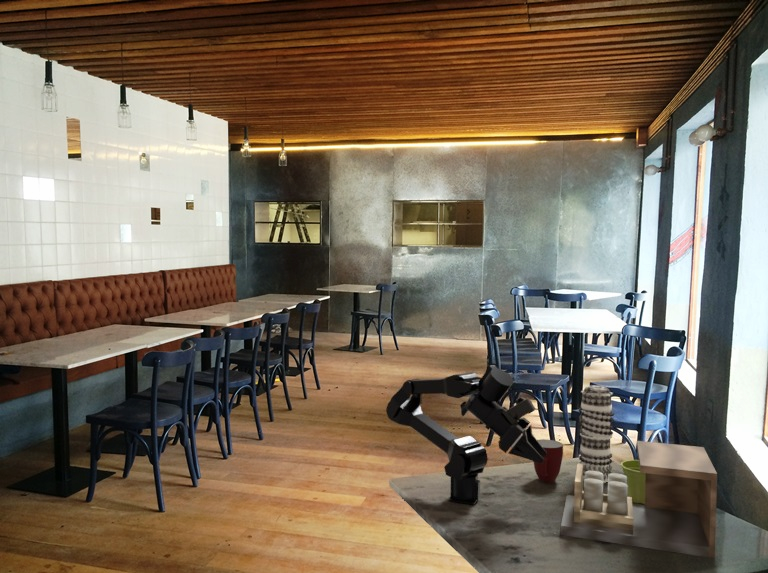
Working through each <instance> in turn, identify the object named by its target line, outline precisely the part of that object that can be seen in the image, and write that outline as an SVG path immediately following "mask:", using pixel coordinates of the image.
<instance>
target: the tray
mask: <svg viewBox="0 0 768 573" xmlns="http://www.w3.org/2000/svg"><path fill="white" fill-rule="evenodd" d="M576 465H577V466H576V472H575V477H574V495H573V496H574V522H577V523H584V524H591V525H598V526H605V527H612V528H619V529H626V530H633V508H632V504H633V502H632V497H627V487H628V486H627V477H626V476H625V475H624V474H621V473H614V472H612V473H611V474H608V483H607V493H604V483H603V473H601V472H598V471H586V472H585V480H583V464H579V463H577V464H576Z"/></svg>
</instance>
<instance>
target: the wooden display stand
mask: <svg viewBox="0 0 768 573" xmlns="http://www.w3.org/2000/svg"><path fill="white" fill-rule="evenodd" d="M636 450H637V452H636V453H637V458H638V459H637V460H639V466H640V472H641V473H645V504H641V503H632V508H633V530H626V529H619V528H612V527H605V526H598V525H591V524H584V523H577V522H574V495H570V494H566V498H565V502H564V503H565V504H564V509H563V513H562V518H561V524H560V536H566V537H572V538H573V537H574V538H580V539H586V540H593V541H598V542H599V541H600V542H607V543H611V544H618V545H625V546H632V547H637V548H638V547H639V548H645V549H652V550H658V551H659V550H660V551H666V552H673V553H677V554H678V553H679V554H686V555H691V556H697V557H704V558H706V557H707V558H711V559H715V558H716V531H717V530H716V527H717V525H716V524H717V523H716V522H717V494H718V493H717V489H718V488H717V487H718V472H717V471H716V469H715V467H714V465H713V463H712V461H711V458H710V457H709V455H708V453H707V451H706V449H705V447H704V446H694V445H684V444H673V443H665V442H655V441H654V442H652V441H644V440H636Z"/></svg>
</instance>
